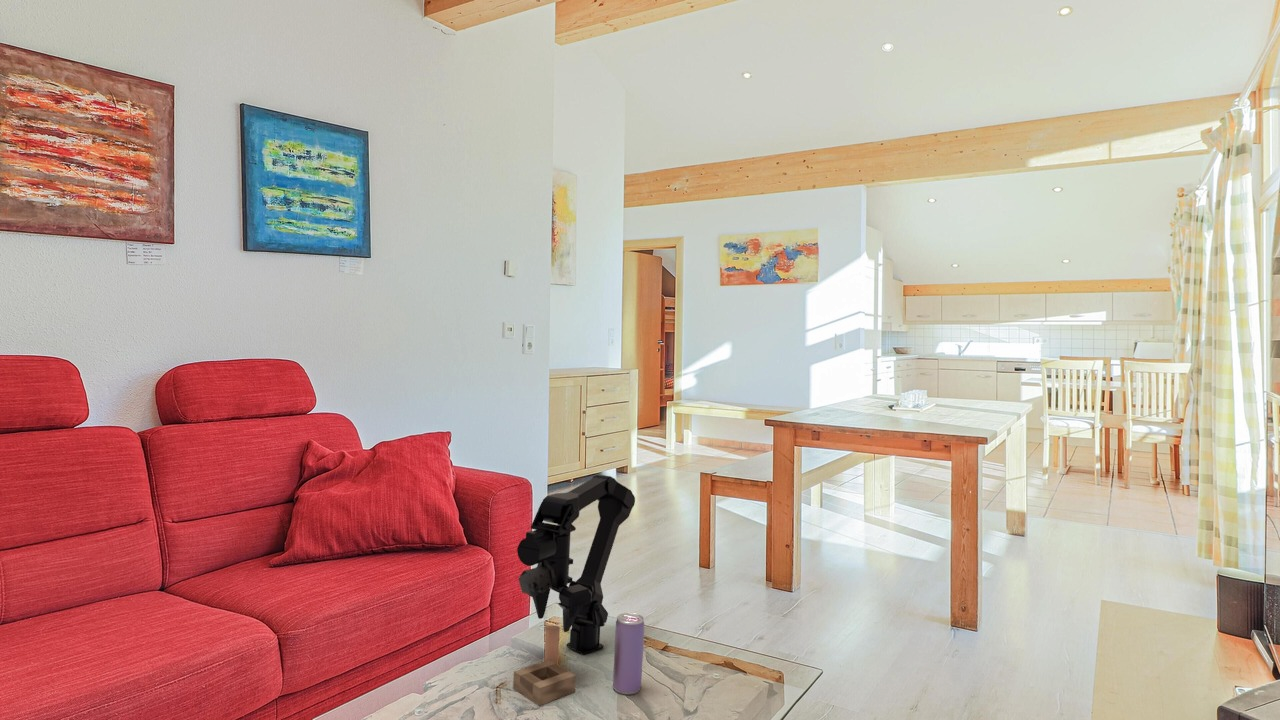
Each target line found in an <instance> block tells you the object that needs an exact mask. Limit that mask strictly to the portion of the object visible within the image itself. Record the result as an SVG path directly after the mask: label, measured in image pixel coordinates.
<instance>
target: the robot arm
mask: <svg viewBox="0 0 1280 720" xmlns="http://www.w3.org/2000/svg"><path fill="white" fill-rule="evenodd" d="M596 501H598V504H597V510H598V514H599V515H598V516H599V521H598V525H597V528H596V531H595V533H594V537H593V540H592V543H591V546H590V548H589V550H588V551H589V552H588V555H587V558H586V561H585V563H584V567H583V570H582V573H581V575H580V576H579V578H578V579H577V580H575V581H574V580H573V577H572V576H569V574H570V572H569V570H570V565H573V564H574V558H571V557H570V554H571V553H570V550H571V533H572V532H575V531H576V530H577V528H576V526H575V525H573V523H574V522H576V520H577V519H579V517H580V514H581V513H580V511H582V510H583V509H585V508H586V507H588V506H590V505H591V504H592V503H594V502H596ZM635 504H636V497H635V495H634V494H633V491H632V490H631V489H630V488H628V487H626V486H625V485H623V484H621V483H620V482H618V480H616V478H614V477H613V476H610V475H603V474H596V475H593V477H592V478H590V479H589V480H587V481H586V482H583V483H582V484H580V485H578V486H577V487H575V488H573V489H571V490H569V491H567V492H560V493H557V492H556V493H553V494H549V495H547V496H545V497H544V498H543V499H542V502H541V503H540V504H539V507H538V510H537V512H536V513H535V517H534V518H533V521H532V523H531V525H530V529H532V530H529V531H526V532H525V538H522V540H520V541H519V544H518V546H517V550H516V554H517V556H518V559H519V561H520V562H521V563H522V564H524V565H525V566H527V567H532V566H534V565H537V566H536V567H535V568H534V567H533V568H529V569H525V570H523V571H522V572H521V574H520V576H519V577H518V582H519V583H518V584H519V586H520V590H521V592H522V593H523V594H526V595H528V596H529V597H531V598H532V600H533V602H534V607H535V612H536V615H537V618H538V619H540V620H541V619H543V618H544V616H545V613H546V610H547V605H548V601H549V597H550V593H551V590H552V591H554V592H557V593H558V600H559V603H558V606H559V607H560V608H561V609H562V627H563V632H564V633H568V632H569V631H570V633H569V642H566V647H568V648H569V649H571V650H573V651H576V652H577V653H579V654H580V655H583V656H584V655H587V654H590V653H593V652H595V651H599V650H602V649H604V648H605V647H604V644H602V643H600V639H601V637H600V636H601V635H600V634H601V627H604V626H605V624H606V623H607V620H608V617H609V616H608V615H609V612H608V611H607V609H606V608H605V607H604V605H603V599H604V594H603V588H602V585H601V584H602V580H603V578H604V574H605V571H606V569H607V565H608V562H609V558H610V555H611V552H612V550H613V547H614V544H615V540H616V537H617V534H618V530H619V528H620V526H621V525H622V524H623V523H624V522H625V521H626V520H628V519H629V517H630V514H631V512H632V510H633V508H634V506H635Z"/></svg>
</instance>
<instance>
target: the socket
mask: <svg viewBox="0 0 1280 720" xmlns="http://www.w3.org/2000/svg"><path fill="white" fill-rule="evenodd" d="M512 683H513V684H512V686H513V687H512V689H513V690H515V691H516V692H518V693H520V694H521V695H523V696H524V697H526V698H527V699H528V700H530V701H531V702H533V703H535V704H536V705H537V706H541V705H545V704H547V703H550V702H552V701H555V700H557V699H560V698H563V697H566V696H568V695H571V694H573V693H575V691H576V674H575V673H573V672H571V671H569V670H567V669H566V668H564V667H562V666H561V665H559V664H558V665H557V664H555V663H554V662H552V661H550V660H547V661H544V660H543V661H542V662H539V663H535V664H532V665H530V666H527V667H523V668H520V669H518V670H517V669H516V670H514V671H513V682H512Z"/></svg>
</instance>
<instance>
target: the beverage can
mask: <svg viewBox="0 0 1280 720" xmlns="http://www.w3.org/2000/svg"><path fill="white" fill-rule="evenodd" d="M644 619H645V618H644V616H643V615H641V614H639V613H636V612H635V613H634V612H623V613H621V614H618V615H617V616H616V621H615V631H614V632H615V635H614V651H613V652H614V653H613V654H614V655H613V674H612V687H613V689H614V691H615V692H617V693H619V694H621V695H625V696H627V695H629V696H630V695H634V694H637V693H638V692H639V691H640V689H642V678H643V660H644V641H645V639H644V638H645V620H644Z"/></svg>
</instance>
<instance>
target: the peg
mask: <svg viewBox="0 0 1280 720" xmlns="http://www.w3.org/2000/svg"><path fill="white" fill-rule="evenodd" d="M560 629H561V628H560V626H558V625H553V624H551V625H547V626H546V627H545V638H544V639H545V640H544V660H543V662H544V661H547V660H550V661H552V662H554V663H555V664H557V665H559V653H560V652H559V651H560V650H559V649H560Z"/></svg>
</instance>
